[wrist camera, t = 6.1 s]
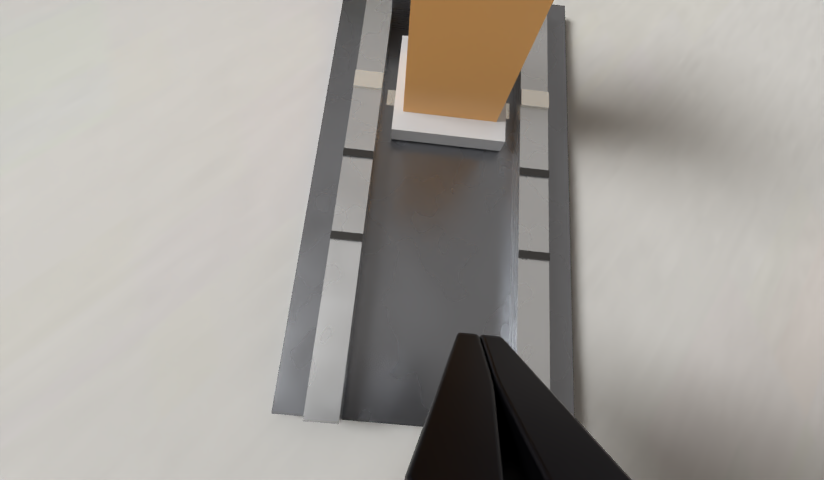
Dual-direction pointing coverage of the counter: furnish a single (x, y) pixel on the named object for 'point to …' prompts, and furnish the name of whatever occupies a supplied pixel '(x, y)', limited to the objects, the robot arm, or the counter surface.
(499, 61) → the fader tab
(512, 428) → the robot arm
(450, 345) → the plate
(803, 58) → the counter surface
